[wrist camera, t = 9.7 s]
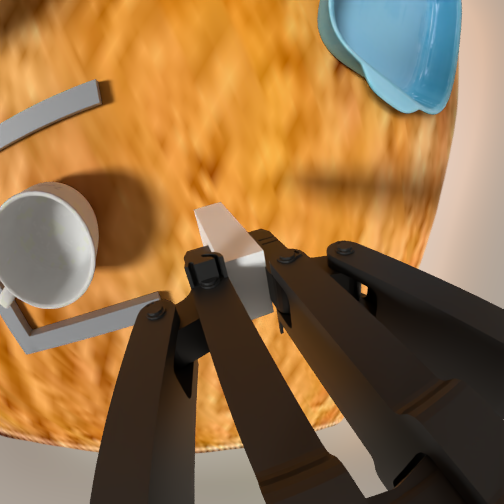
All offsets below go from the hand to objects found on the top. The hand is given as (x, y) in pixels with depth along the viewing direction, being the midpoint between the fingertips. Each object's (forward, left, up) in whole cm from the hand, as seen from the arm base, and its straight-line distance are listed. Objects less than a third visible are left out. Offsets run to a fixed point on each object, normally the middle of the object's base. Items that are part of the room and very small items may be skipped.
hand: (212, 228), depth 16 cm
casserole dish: (-31, -22, -15) cm, 41 cm away
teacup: (+16, +1, -15) cm, 22 cm away
